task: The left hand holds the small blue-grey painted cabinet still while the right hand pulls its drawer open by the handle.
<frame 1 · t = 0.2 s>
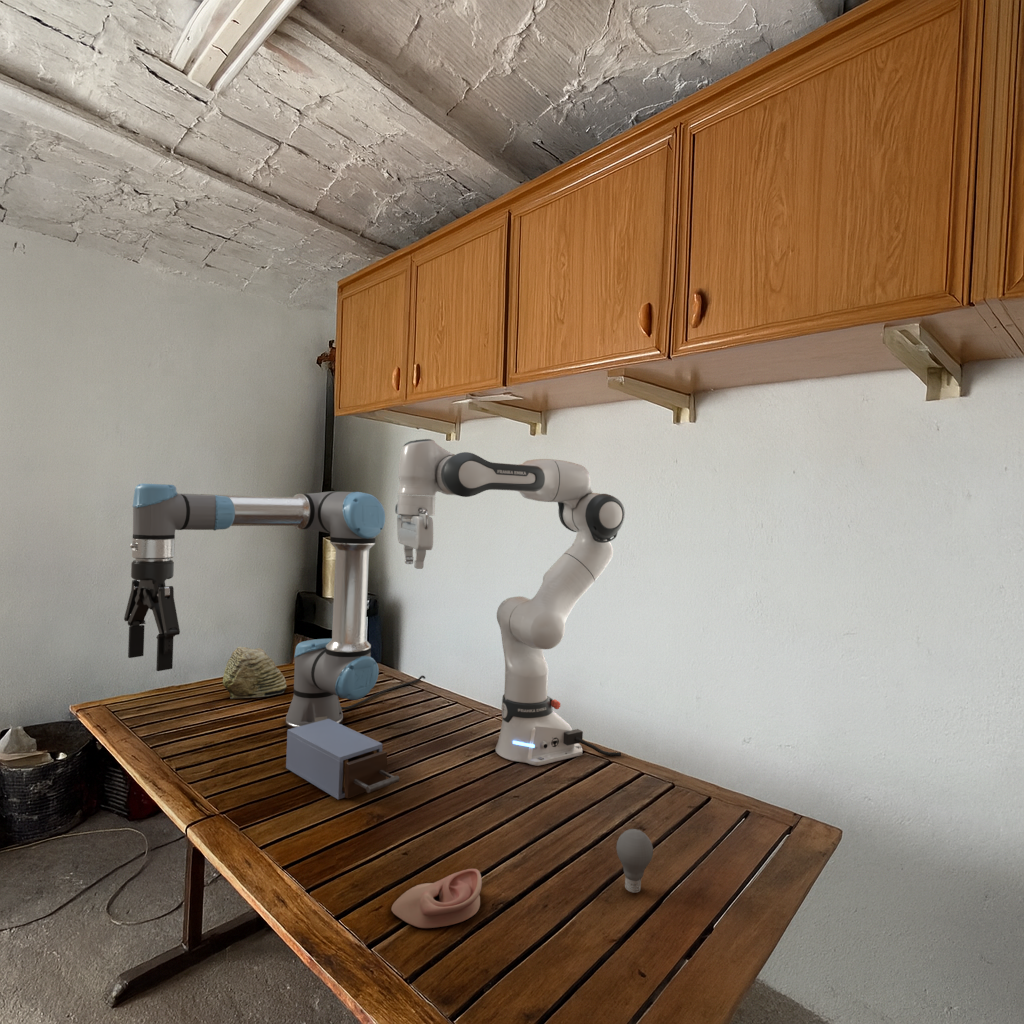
left hand: (149, 663, 129), 28 cm above the table, tool pointing down, fingers open, 13 cm apart
right hand: (413, 566, 150), 48 cm above the table, tool pointing down, fingers open, 8 cm apart
anatomical model: (437, 906, 100), on the table
drawer: (348, 764, 140), point 5 cm above the table, slide at 1.3 cm
cabinet: (332, 775, 144), on the table
light bulb: (632, 891, 106), on the table
fossil: (254, 694, 198), on the table
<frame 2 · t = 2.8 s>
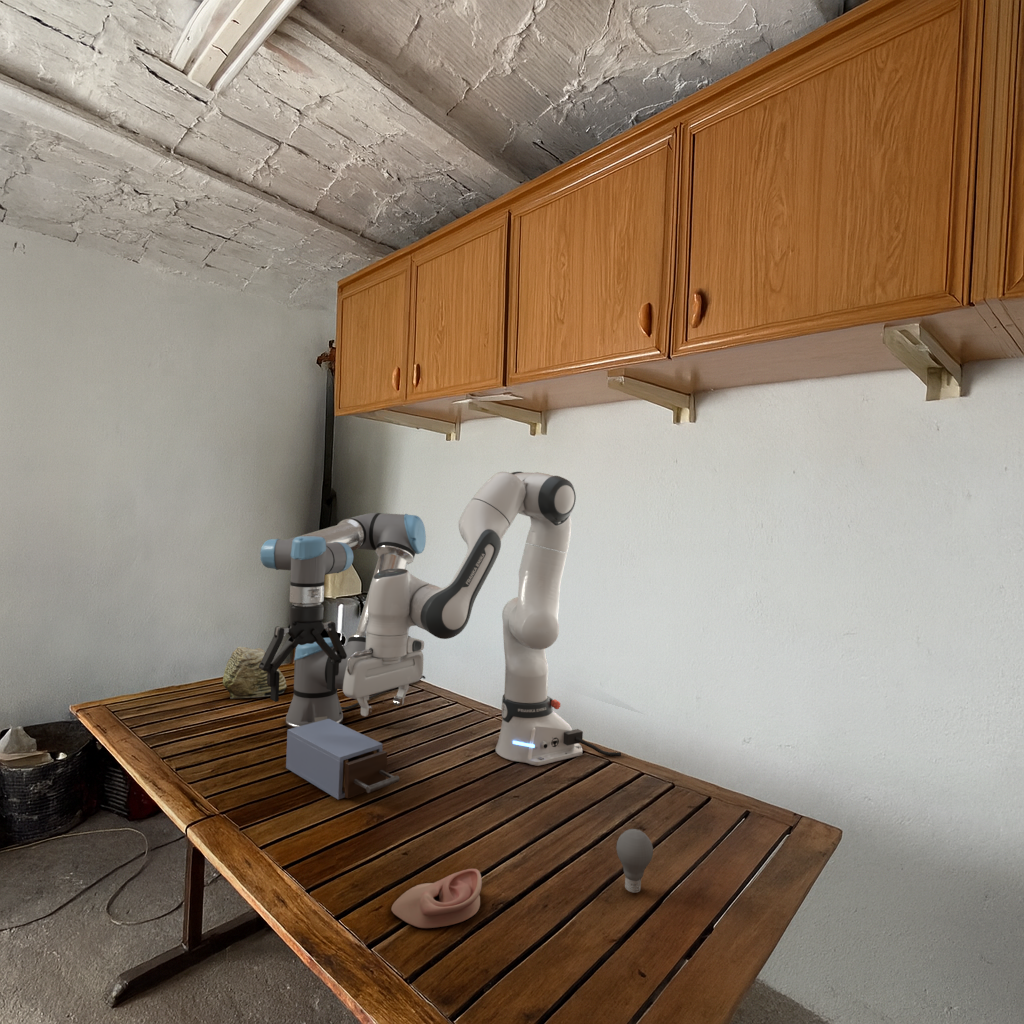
left hand: (303, 694, 147), 17 cm above the table, tool pointing down, fingers open, 13 cm apart
right hand: (382, 709, 135), 19 cm above the table, tool pointing down, fingers open, 8 cm apart
nothing on the table moved.
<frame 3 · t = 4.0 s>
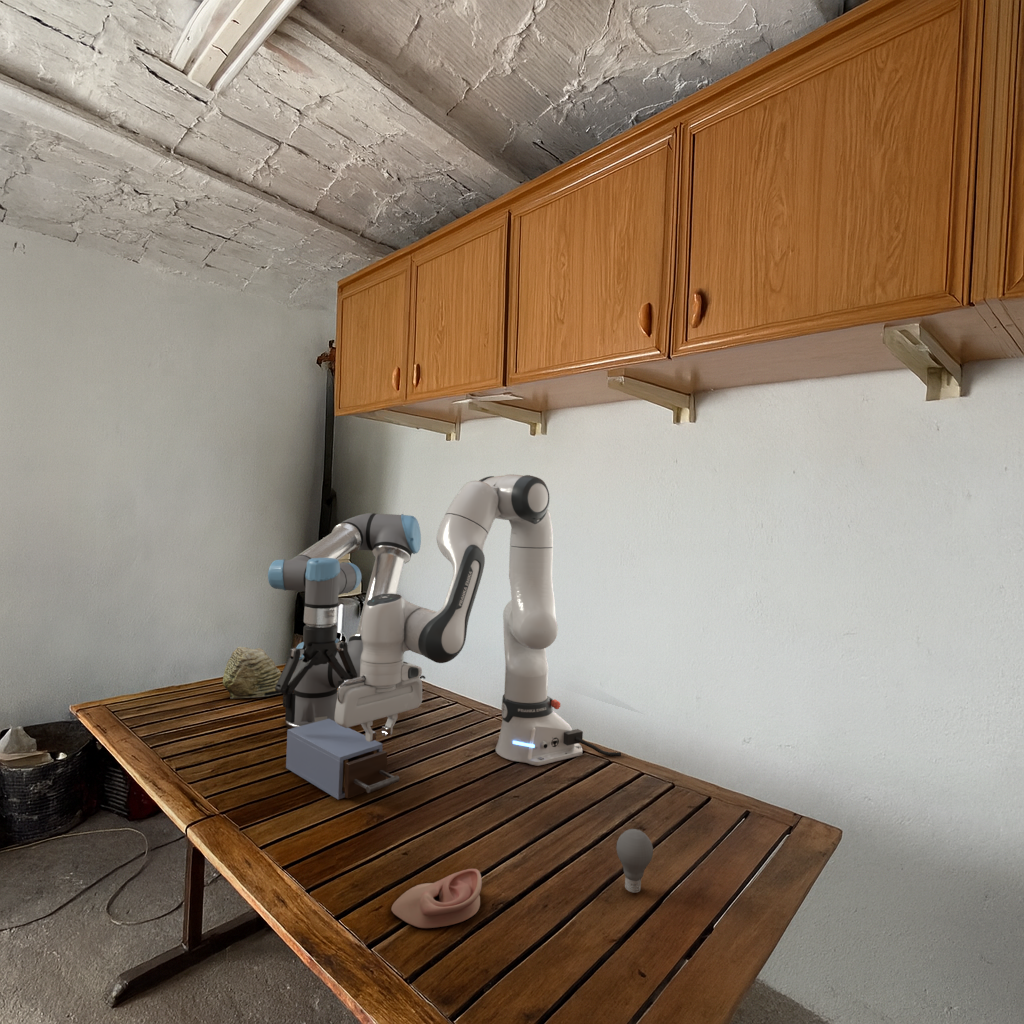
left hand: (316, 714, 148), 12 cm above the table, tool pointing down, fingers open, 13 cm apart
right hand: (378, 737, 133), 13 cm above the table, tool pointing down, fingers open, 3 cm apart
nothing on the table moved.
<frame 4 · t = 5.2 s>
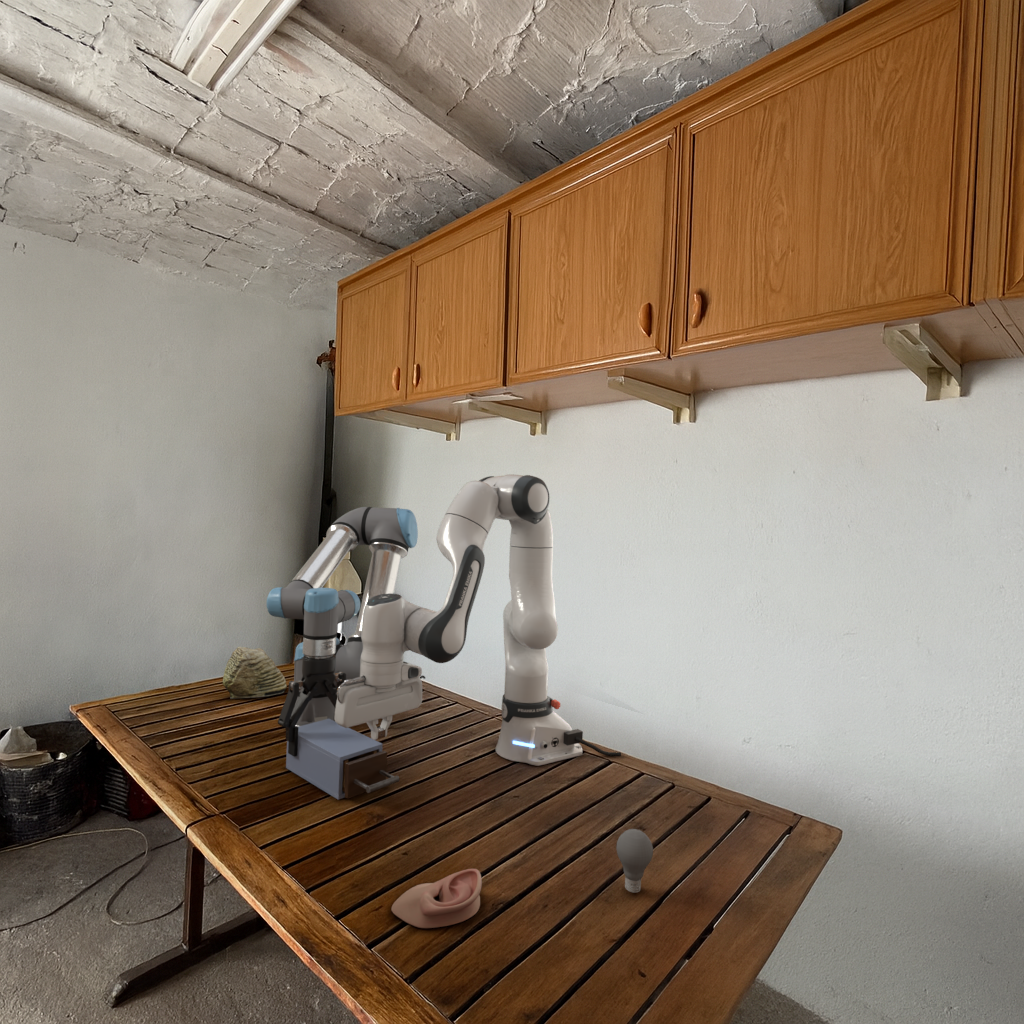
left hand: (315, 747, 149), 4 cm above the table, tool pointing down, fingers closed on cabinet, 11 cm apart
right hand: (378, 737, 133), 13 cm above the table, tool pointing down, fingers closed
cabinet: (332, 775, 144), on the table, touching left hand
everything else where it was.
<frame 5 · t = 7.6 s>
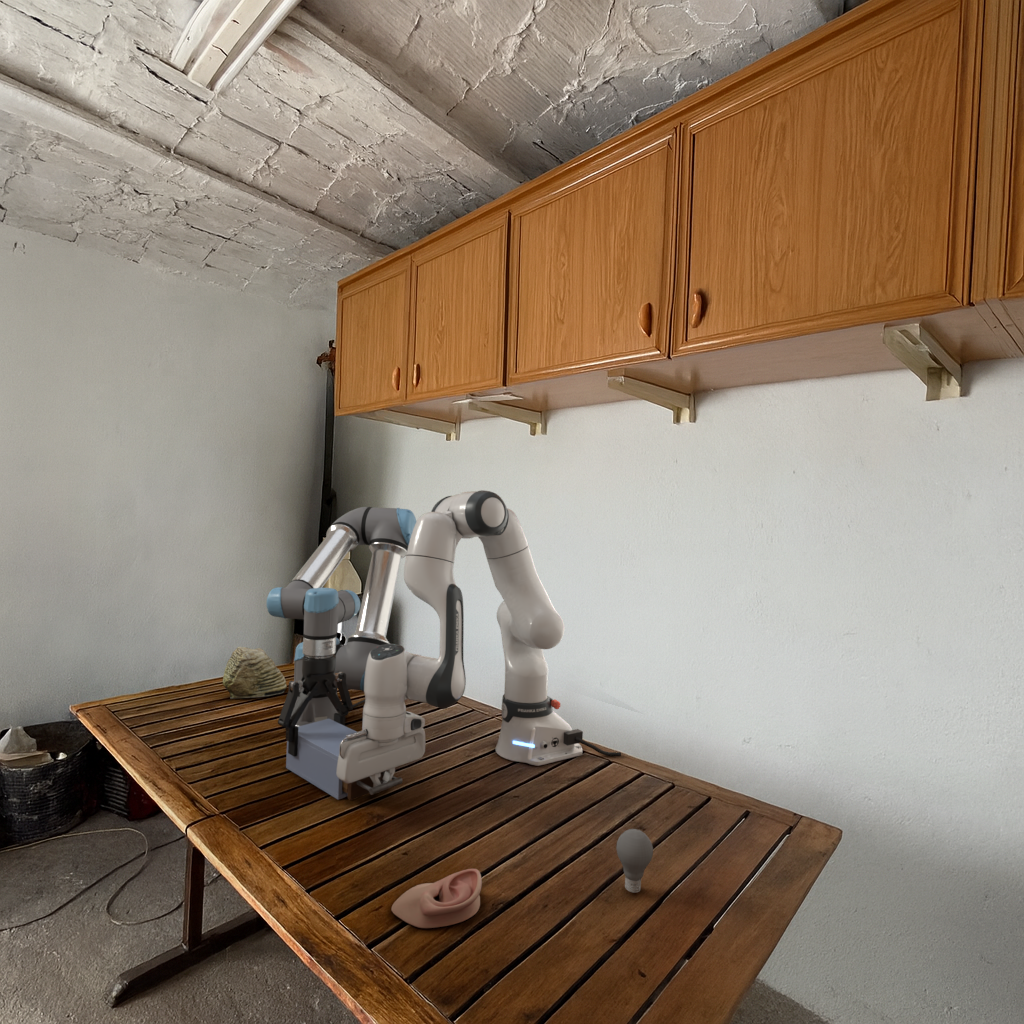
left hand: (315, 747, 149), 4 cm above the table, tool pointing down, fingers closed on cabinet, 11 cm apart
right hand: (381, 790, 132), 3 cm above the table, tool pointing down, fingers closed, pressing on drawer
drawer: (351, 765, 139), point 5 cm above the table, slide at 2.4 cm, touching right hand
cabinet: (332, 775, 144), on the table, touching left hand
everything else where it was.
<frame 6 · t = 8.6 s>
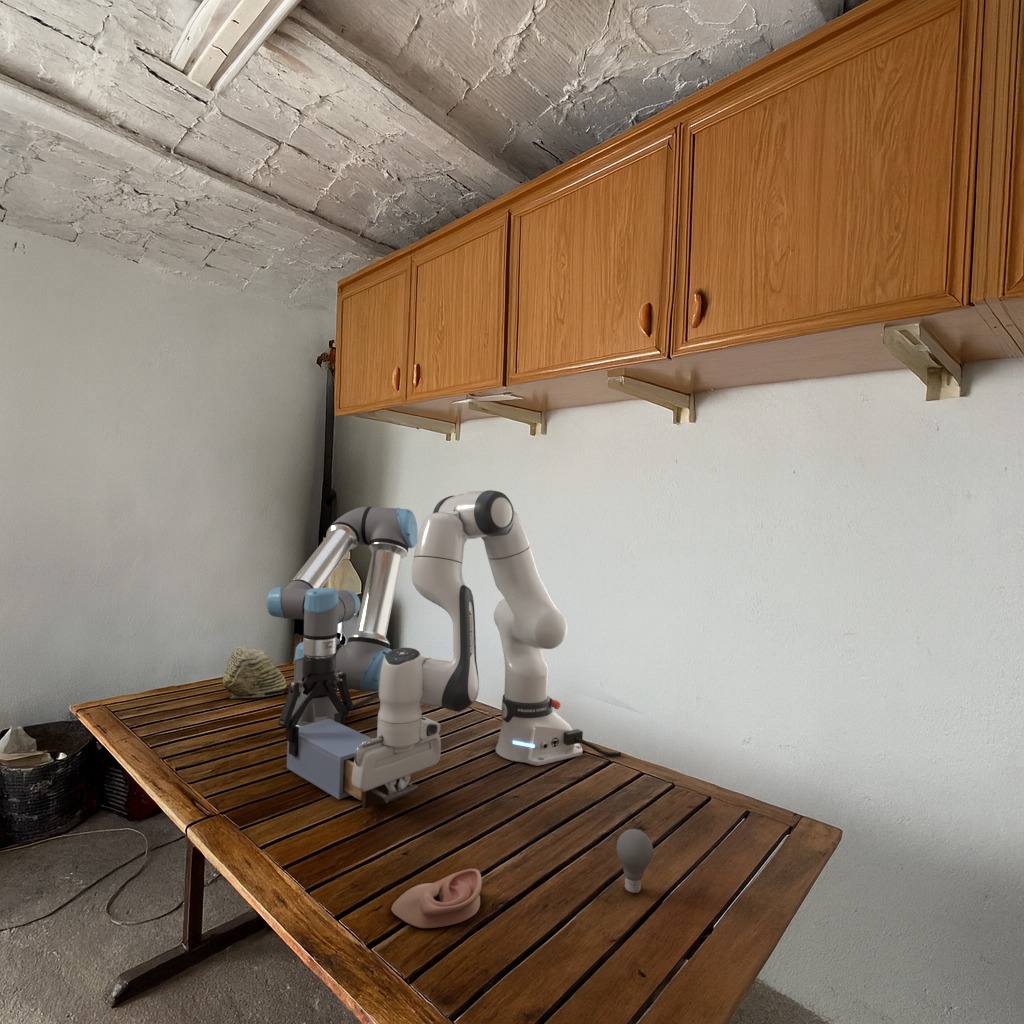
left hand: (316, 747, 149), 4 cm above the table, tool pointing down, fingers closed on cabinet, 11 cm apart
right hand: (396, 797, 129), 3 cm above the table, tool pointing down, fingers closed, pressing on drawer
drawer: (365, 772, 136), point 5 cm above the table, slide at 7.2 cm, touching right hand
cabinet: (333, 775, 144), on the table, touching left hand
everything else where it was.
when the left hand's fingers open (4 cm above the table, at t = 10.2 s): cabinet stays where it is, on the table.
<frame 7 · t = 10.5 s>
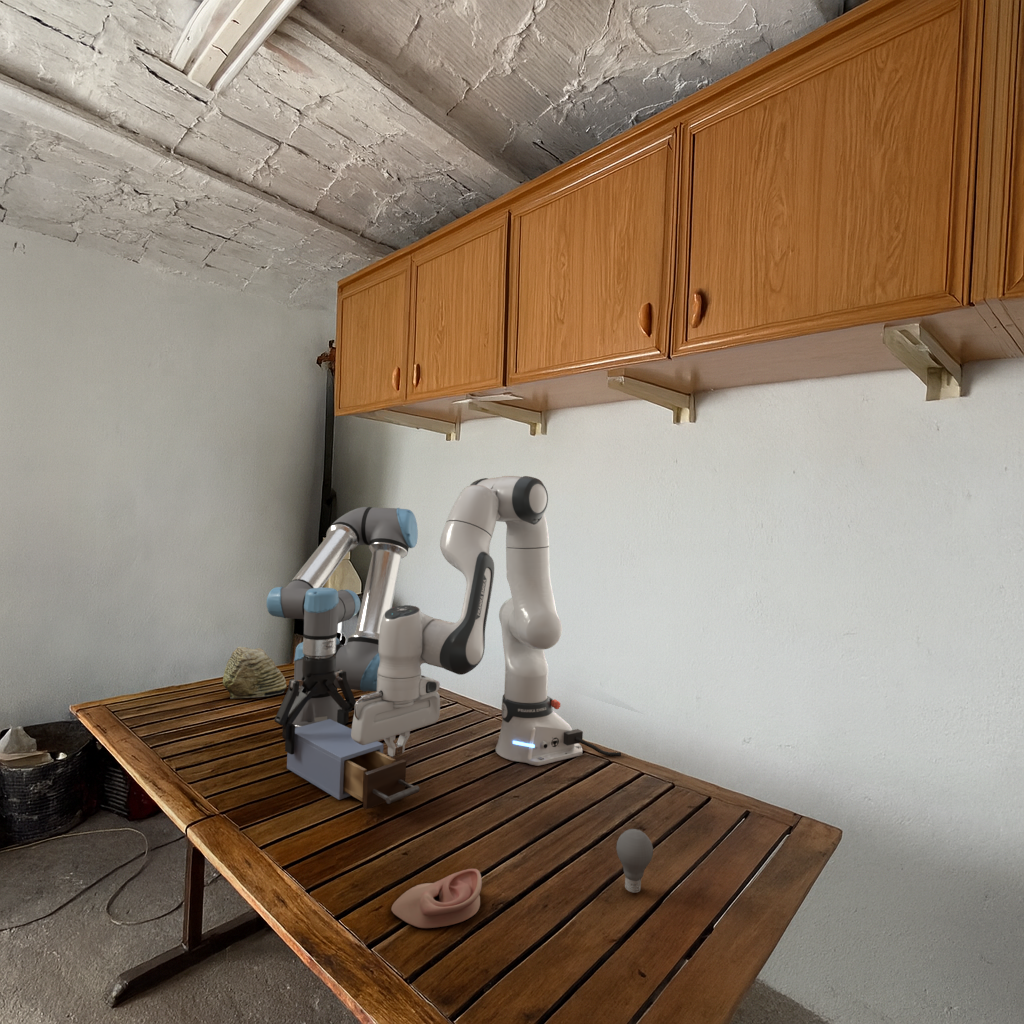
left hand: (316, 744, 149), 5 cm above the table, tool pointing down, fingers open, 13 cm apart
right hand: (396, 754, 129), 12 cm above the table, tool pointing down, fingers closed
drawer: (366, 773, 136), point 5 cm above the table, slide at 7.5 cm
cabinet: (333, 776, 144), on the table
everything else where it was.
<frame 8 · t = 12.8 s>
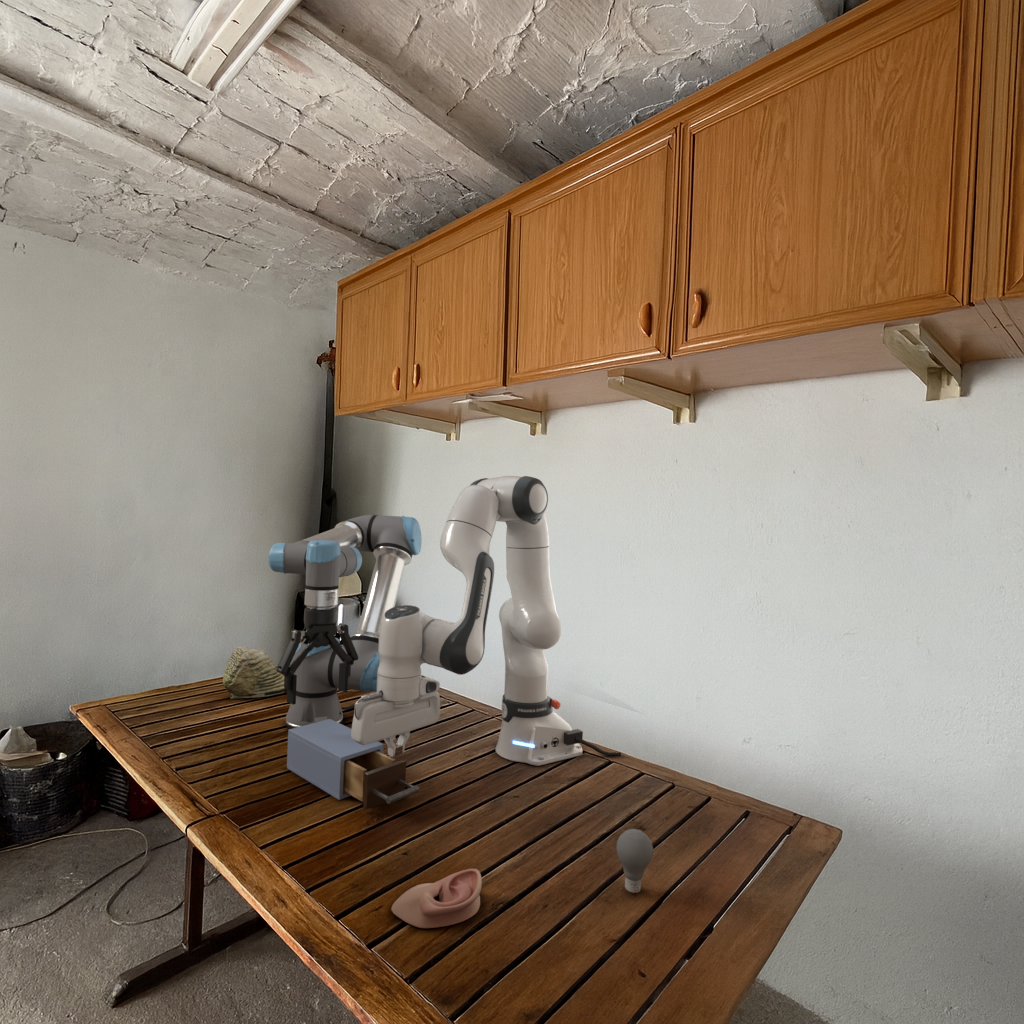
left hand: (317, 696, 149), 16 cm above the table, tool pointing down, fingers open, 13 cm apart
right hand: (396, 754, 129), 12 cm above the table, tool pointing down, fingers closed
nothing on the table moved.
at the end: drawer slide at 7.5 cm; cabinet tilted 0°; cabinet never tilted more than 2° during the clip; cabinet moved 0.3 cm from its start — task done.
